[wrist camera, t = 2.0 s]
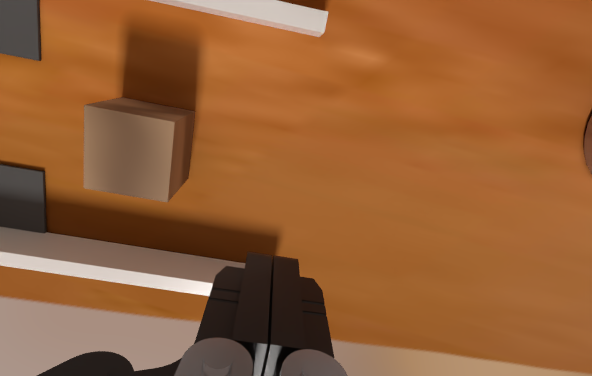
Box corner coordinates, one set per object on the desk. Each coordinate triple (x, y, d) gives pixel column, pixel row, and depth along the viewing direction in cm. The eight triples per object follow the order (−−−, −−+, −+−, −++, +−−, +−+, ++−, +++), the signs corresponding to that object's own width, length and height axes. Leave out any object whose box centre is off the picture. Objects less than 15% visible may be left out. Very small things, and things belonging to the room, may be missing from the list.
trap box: (322, 18, 21) (328, 11, 18) (270, 278, 27) (268, 304, 24) (-121, -80, 19) (-194, -105, 16) (-75, 226, 25) (-122, 247, 22)
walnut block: (195, 111, 23) (174, 122, 18) (188, 177, 24) (167, 202, 20) (122, 97, 22) (84, 105, 18) (120, 165, 24) (83, 188, 19)
